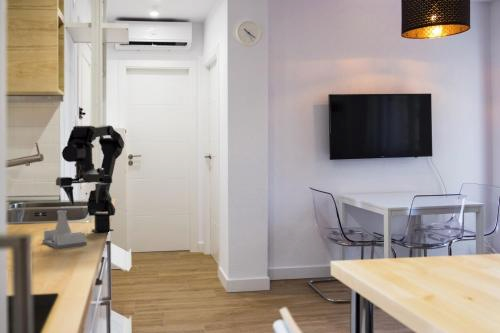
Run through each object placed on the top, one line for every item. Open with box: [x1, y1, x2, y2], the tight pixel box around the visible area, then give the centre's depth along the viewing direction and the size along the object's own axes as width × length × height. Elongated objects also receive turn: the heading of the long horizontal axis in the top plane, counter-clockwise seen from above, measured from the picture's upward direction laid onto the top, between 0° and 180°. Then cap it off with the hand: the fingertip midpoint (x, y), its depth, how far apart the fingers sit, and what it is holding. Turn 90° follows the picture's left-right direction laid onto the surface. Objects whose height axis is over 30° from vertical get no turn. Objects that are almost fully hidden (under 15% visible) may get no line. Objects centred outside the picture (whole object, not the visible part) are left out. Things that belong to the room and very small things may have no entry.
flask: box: [52, 210, 73, 241], centre depth 181 cm, size 7×7×10 cm
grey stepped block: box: [42, 229, 88, 249], centre depth 180 cm, size 14×10×4 cm
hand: (85, 204), depth 190 cm, fingers open, 9 cm apart
